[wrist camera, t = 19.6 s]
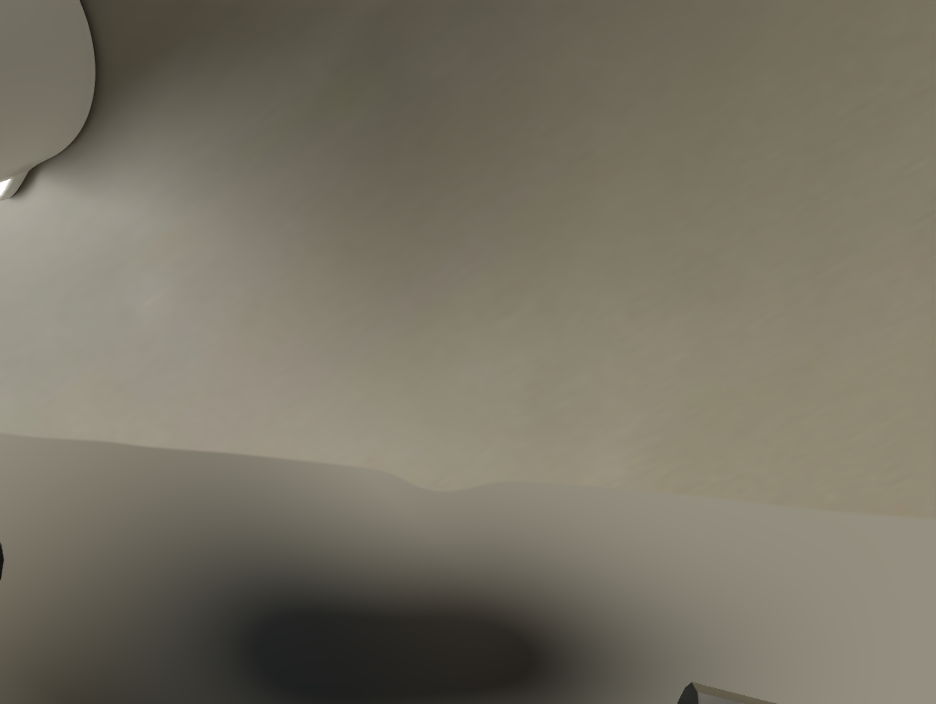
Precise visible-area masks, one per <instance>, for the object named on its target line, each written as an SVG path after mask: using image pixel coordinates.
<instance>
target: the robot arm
mask: <svg viewBox="0 0 936 704" xmlns="http://www.w3.org/2000/svg"><path fill="white" fill-rule="evenodd" d="M94 87H95V57H94V49H93V43H92V38H91V34H90V29H89V26H88V22H87V19H86V16H85V13H84V10H83V8H82V5H81V3H80V0H0V201H1V200H4V199H8V198H10V197H11V196H12V195H14V193H15V192H16V191H17V190H18V188H19V187H20V185H21V184H22V182H23V180H24V179H25V177H26V175H27V173H28V171H29V170H30V169H32V168H33V167H34V166H36V165H38V164H39V163H41V162H43V161H45V160H47V159H49V158H51V157H53V156H55V155H57V154H58V153H60V152H61V151H62V150H64V149H65V148H66V147H67V146H68V145H69V144H70V143H71V142H72V141H73V140H74V139H75V138H76V136H77V135H78V133H79V132H80V130H81V129H82V127H83V125H84V123H85V121H86V119H87V117H88V114H89V111H90V108H91V104H92V100H93V95H94ZM3 564H4V556H3V550H2V545H1V543H0V580H1V577H2V569H3ZM677 704H776V703H772V702H768V701H764V700H760V699H756V698H752V697H748V696H745V695H740V694H737V693H733V692H729V691H725V690H721V689H717V688H713V687H710V686H706V685H702V684H698V683H694V682H691V683H690V684H688V685H687V686H686V687H685V688H684V690H683V692H682V694H681V696H680V698H679V700H678V702H677Z"/></svg>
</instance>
